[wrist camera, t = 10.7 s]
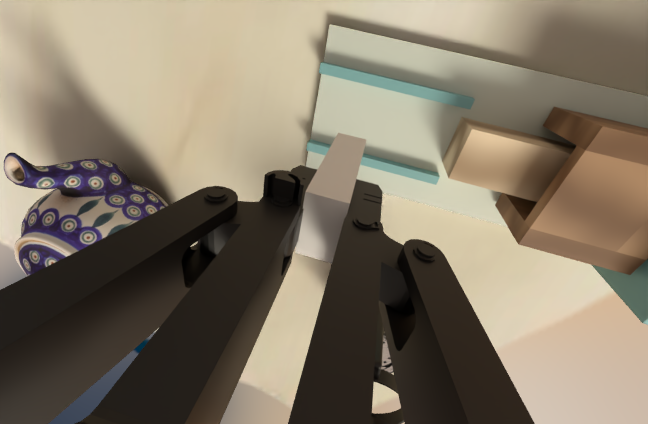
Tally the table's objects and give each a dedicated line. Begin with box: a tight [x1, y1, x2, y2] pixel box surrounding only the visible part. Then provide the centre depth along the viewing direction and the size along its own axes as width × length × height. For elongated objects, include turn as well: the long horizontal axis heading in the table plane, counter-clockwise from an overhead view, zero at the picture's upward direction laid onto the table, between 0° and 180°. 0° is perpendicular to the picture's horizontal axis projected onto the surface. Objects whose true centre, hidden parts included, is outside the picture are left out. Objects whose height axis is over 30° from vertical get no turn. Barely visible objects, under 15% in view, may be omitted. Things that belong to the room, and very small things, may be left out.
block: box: [495, 107, 648, 275], centre depth 21 cm, size 9×8×6 cm
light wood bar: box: [442, 117, 576, 202], centre depth 23 cm, size 4×12×4 cm, turn 79°
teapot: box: [4, 153, 169, 276], centre depth 33 cm, size 25×15×15 cm, turn 172°
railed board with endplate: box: [306, 24, 648, 325], centre depth 22 cm, size 13×29×10 cm, turn 79°
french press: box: [371, 304, 404, 424], centre depth 29 cm, size 12×9×23 cm
